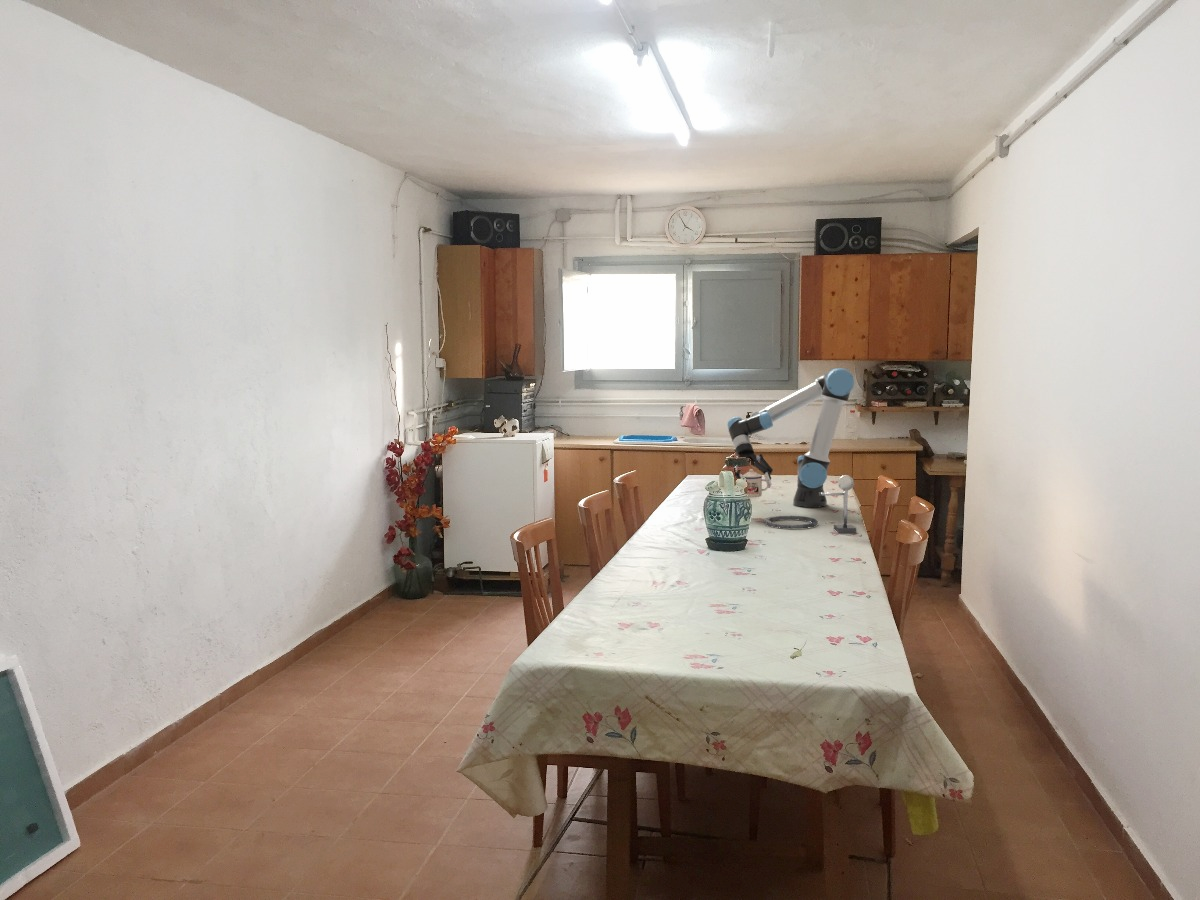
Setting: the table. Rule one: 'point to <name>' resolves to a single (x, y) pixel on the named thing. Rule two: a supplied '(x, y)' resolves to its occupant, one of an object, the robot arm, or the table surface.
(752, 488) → the teacup with lid
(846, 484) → the dial gauge stand
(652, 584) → the table surface
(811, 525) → the centring ring
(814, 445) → the robot arm
